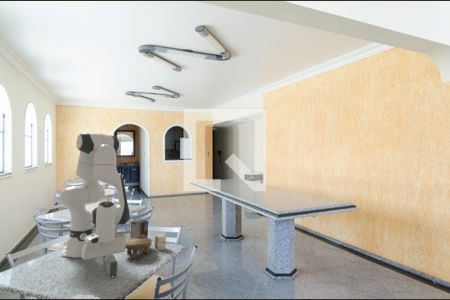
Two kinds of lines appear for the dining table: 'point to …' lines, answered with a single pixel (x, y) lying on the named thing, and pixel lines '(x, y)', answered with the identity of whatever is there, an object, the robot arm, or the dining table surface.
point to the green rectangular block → (111, 265)
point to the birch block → (160, 242)
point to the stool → (137, 245)
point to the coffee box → (139, 229)
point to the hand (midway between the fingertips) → (103, 264)
